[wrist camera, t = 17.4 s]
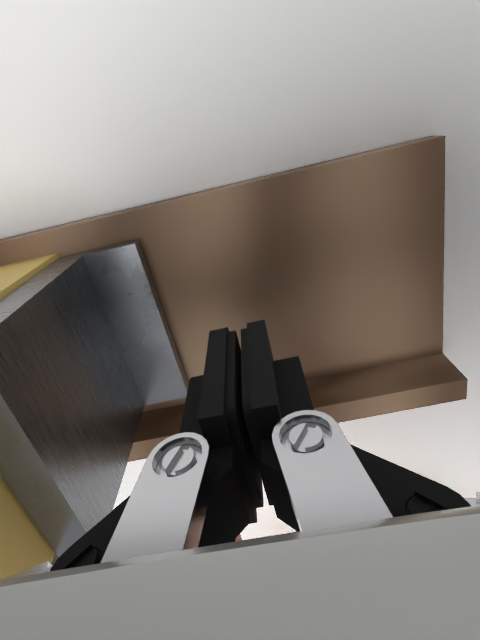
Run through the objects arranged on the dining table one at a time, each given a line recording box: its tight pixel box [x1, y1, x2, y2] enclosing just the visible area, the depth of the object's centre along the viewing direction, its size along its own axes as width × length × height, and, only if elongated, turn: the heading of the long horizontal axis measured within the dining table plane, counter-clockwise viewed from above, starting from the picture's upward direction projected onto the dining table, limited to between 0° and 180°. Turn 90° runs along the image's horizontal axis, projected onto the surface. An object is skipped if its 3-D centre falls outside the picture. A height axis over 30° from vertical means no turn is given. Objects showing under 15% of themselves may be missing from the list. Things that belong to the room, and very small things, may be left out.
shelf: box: [0, 136, 467, 462], centre depth 12 cm, size 25×10×11 cm, turn 103°
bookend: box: [0, 240, 189, 557], centre depth 13 cm, size 3×7×7 cm, turn 13°
